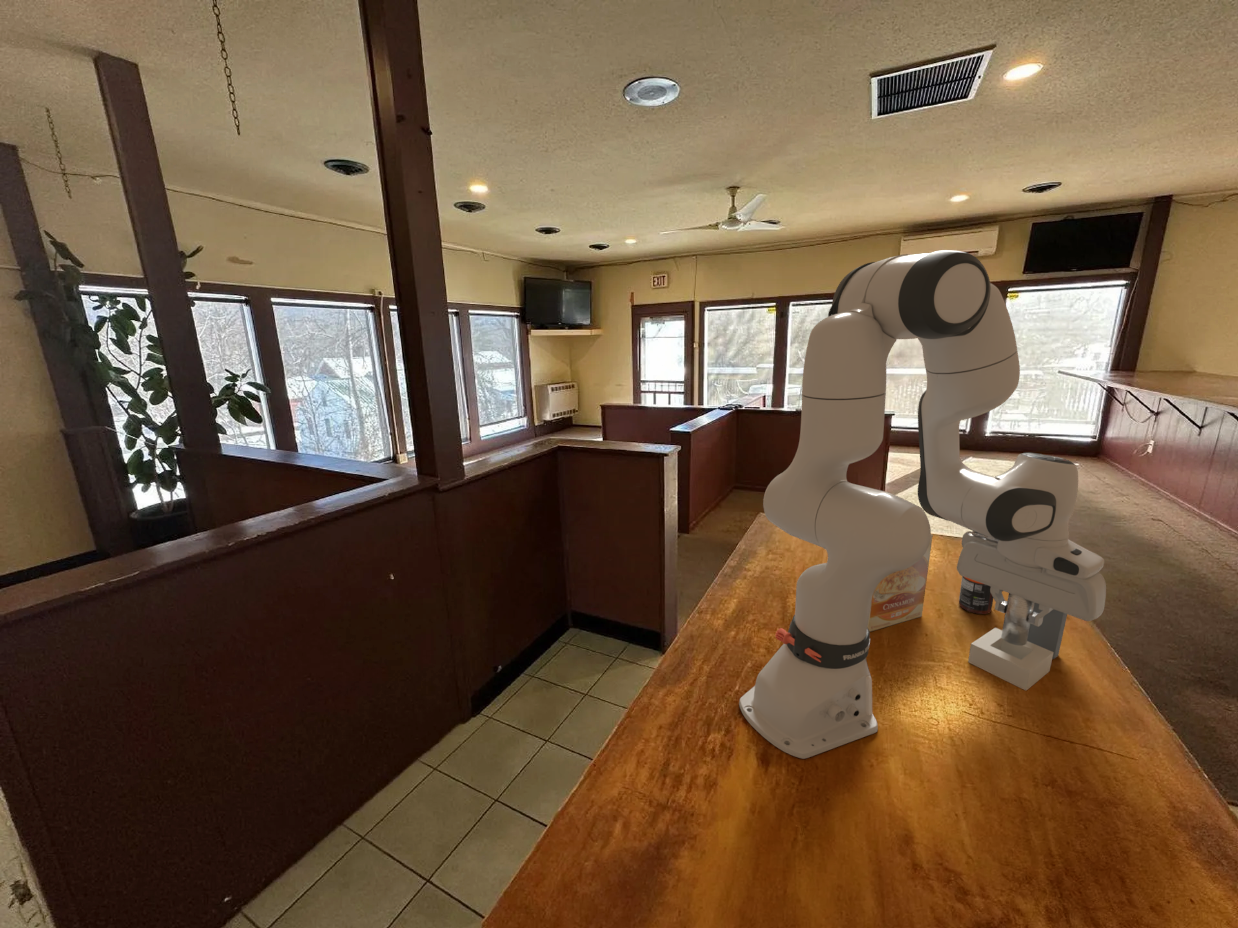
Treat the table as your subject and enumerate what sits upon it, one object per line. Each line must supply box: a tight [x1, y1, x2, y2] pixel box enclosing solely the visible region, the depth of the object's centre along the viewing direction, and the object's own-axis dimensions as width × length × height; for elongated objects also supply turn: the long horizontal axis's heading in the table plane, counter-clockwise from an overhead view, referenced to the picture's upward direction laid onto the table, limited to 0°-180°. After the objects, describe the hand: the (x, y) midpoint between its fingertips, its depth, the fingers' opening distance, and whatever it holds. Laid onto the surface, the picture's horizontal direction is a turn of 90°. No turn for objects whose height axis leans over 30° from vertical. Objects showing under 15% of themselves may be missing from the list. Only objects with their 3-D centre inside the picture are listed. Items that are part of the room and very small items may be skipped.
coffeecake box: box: [867, 533, 934, 633], centre depth 104 cm, size 15×7×20 cm, turn 108°
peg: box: [1001, 593, 1035, 646], centre depth 86 cm, size 4×4×10 cm
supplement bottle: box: [958, 576, 994, 615], centre depth 106 cm, size 6×6×11 cm
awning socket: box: [967, 603, 1068, 691], centre depth 89 cm, size 16×12×15 cm
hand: (1017, 617), depth 86 cm, fingers closed on peg, 4 cm apart
